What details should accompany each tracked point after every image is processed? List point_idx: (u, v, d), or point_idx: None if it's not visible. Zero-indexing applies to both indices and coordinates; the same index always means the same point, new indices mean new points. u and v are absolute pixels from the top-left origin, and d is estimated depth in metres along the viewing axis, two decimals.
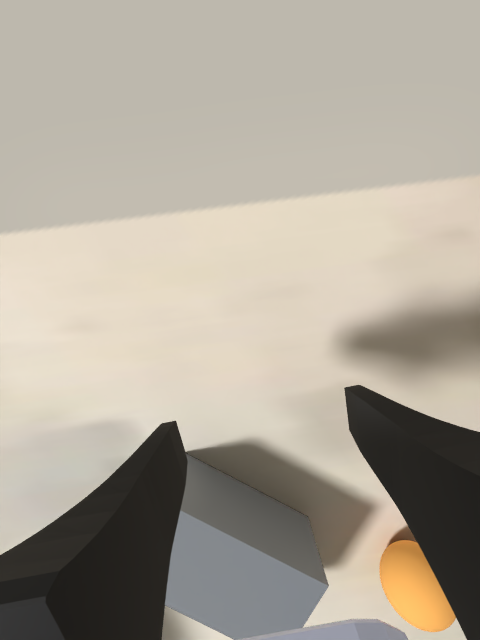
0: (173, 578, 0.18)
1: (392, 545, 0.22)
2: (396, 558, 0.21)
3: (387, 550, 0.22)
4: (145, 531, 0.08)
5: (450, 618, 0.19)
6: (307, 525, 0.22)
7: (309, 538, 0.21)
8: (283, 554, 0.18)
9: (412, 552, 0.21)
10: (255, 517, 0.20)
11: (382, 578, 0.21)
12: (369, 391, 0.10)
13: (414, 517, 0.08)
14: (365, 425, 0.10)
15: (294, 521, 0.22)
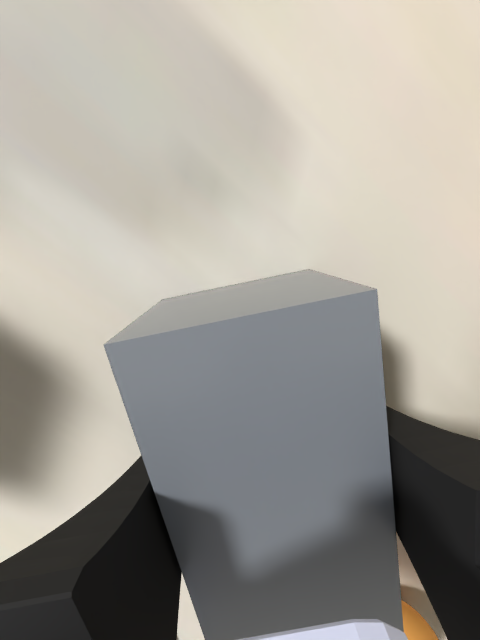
0: (214, 433, 0.07)
1: None
2: (410, 627, 0.14)
3: None
4: (160, 528, 0.08)
5: None
6: None
7: None
8: None
9: (431, 635, 0.14)
10: None
11: None
12: None
13: (400, 520, 0.08)
14: None
15: None
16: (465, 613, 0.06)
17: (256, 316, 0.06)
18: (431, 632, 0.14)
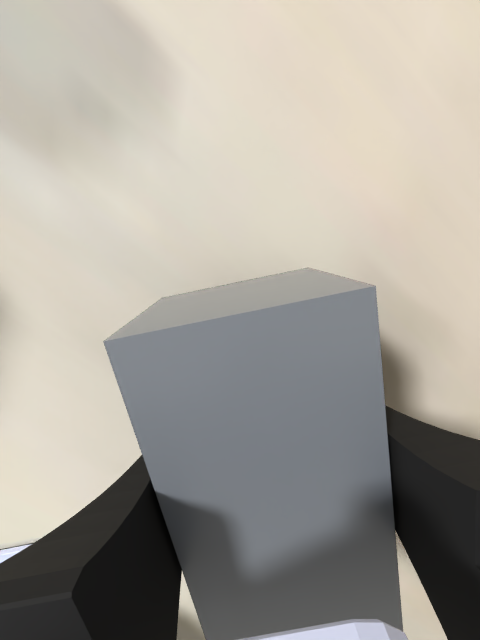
0: (213, 429, 0.07)
1: None
2: None
3: None
4: (160, 528, 0.08)
5: None
6: None
7: None
8: None
9: None
10: None
11: None
12: None
13: (400, 520, 0.08)
14: None
15: None
16: (465, 613, 0.06)
17: (255, 313, 0.06)
18: None
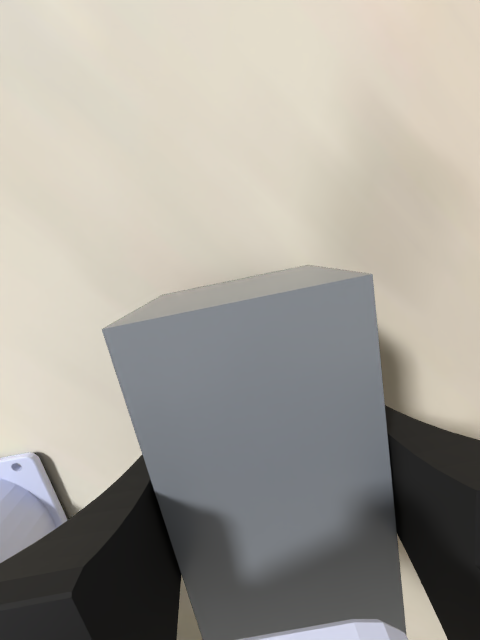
0: (211, 420, 0.07)
1: None
2: None
3: None
4: (160, 528, 0.08)
5: None
6: None
7: None
8: None
9: None
10: None
11: None
12: None
13: (400, 520, 0.08)
14: None
15: None
16: (465, 613, 0.06)
17: (253, 301, 0.06)
18: None
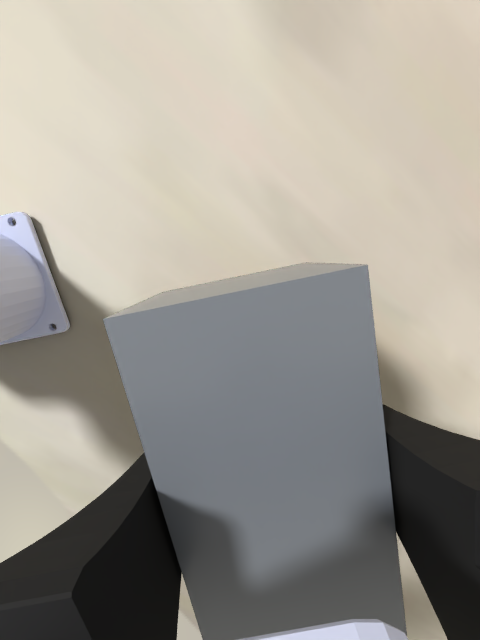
0: (210, 410, 0.07)
1: None
2: None
3: None
4: (160, 528, 0.08)
5: None
6: None
7: None
8: None
9: None
10: None
11: None
12: None
13: (399, 520, 0.08)
14: None
15: None
16: (465, 613, 0.06)
17: (251, 291, 0.07)
18: None
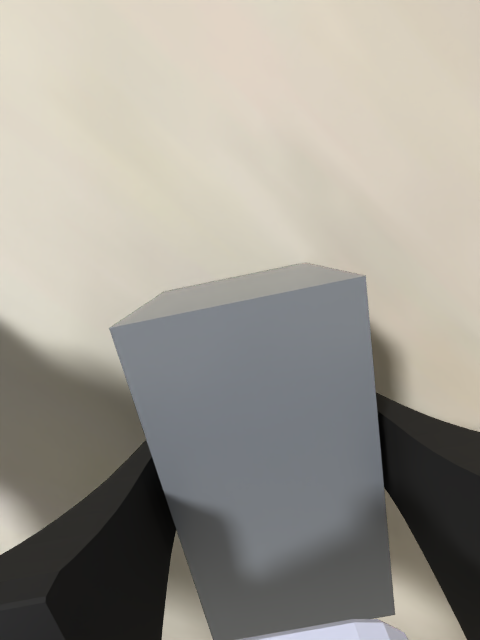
0: (213, 413, 0.07)
1: None
2: None
3: None
4: (145, 531, 0.08)
5: None
6: None
7: None
8: None
9: None
10: None
11: None
12: None
13: (414, 517, 0.08)
14: None
15: None
16: None
17: (252, 301, 0.07)
18: None
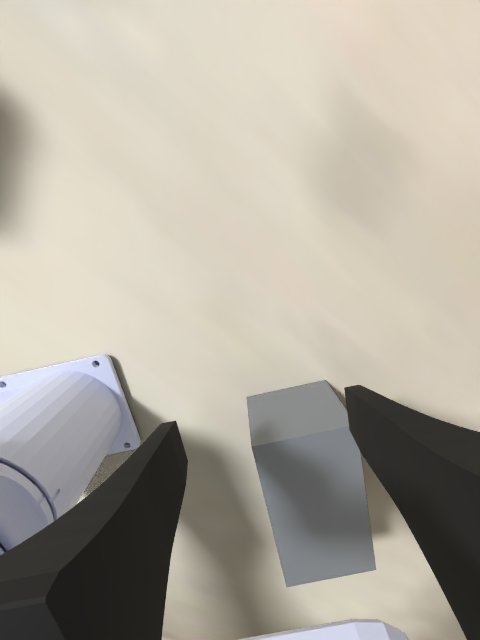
0: (292, 478, 0.17)
1: None
2: None
3: None
4: (145, 531, 0.08)
5: None
6: None
7: None
8: None
9: None
10: None
11: None
12: (369, 391, 0.10)
13: (414, 517, 0.08)
14: (365, 425, 0.10)
15: None
16: None
17: (310, 435, 0.16)
18: None
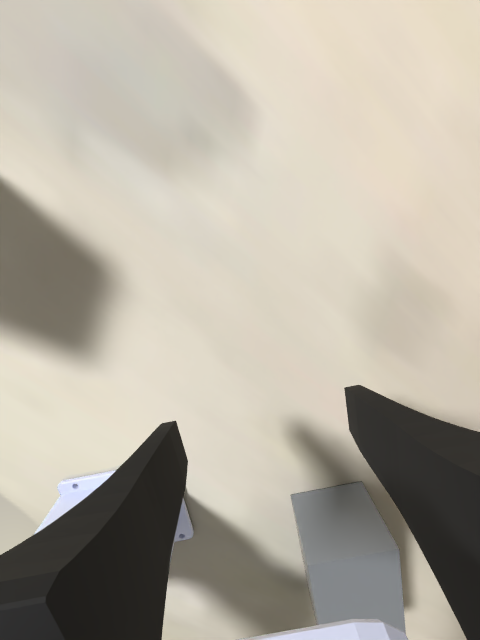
0: (340, 589, 0.20)
1: None
2: None
3: None
4: (145, 531, 0.08)
5: None
6: None
7: None
8: None
9: None
10: None
11: None
12: (369, 391, 0.10)
13: (414, 517, 0.08)
14: (365, 425, 0.10)
15: None
16: None
17: (359, 556, 0.19)
18: None
